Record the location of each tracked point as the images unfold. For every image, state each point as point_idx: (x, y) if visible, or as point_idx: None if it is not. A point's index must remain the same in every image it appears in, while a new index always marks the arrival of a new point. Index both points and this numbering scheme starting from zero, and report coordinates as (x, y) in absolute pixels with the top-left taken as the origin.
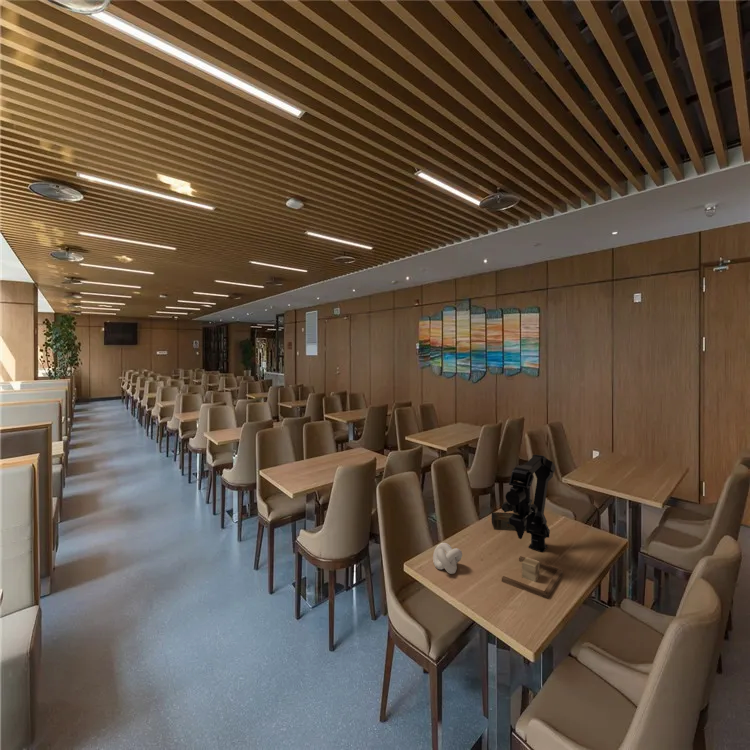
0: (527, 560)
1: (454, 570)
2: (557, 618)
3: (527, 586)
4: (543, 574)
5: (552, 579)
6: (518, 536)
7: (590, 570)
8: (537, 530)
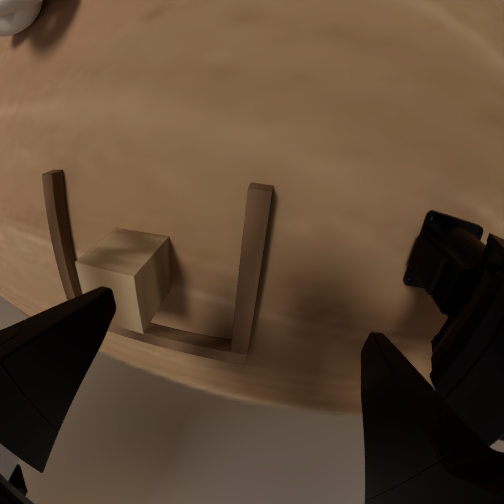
0: (108, 285)
1: (9, 34)
2: None
3: (61, 267)
4: (195, 300)
5: (152, 336)
6: (85, 297)
7: (314, 401)
8: (445, 351)
